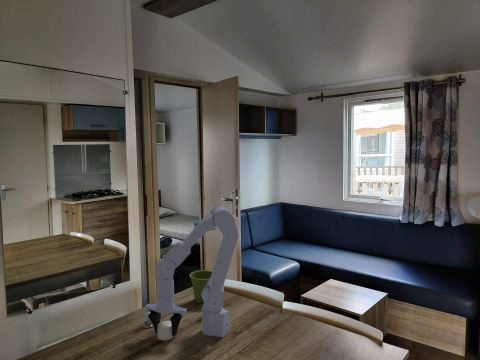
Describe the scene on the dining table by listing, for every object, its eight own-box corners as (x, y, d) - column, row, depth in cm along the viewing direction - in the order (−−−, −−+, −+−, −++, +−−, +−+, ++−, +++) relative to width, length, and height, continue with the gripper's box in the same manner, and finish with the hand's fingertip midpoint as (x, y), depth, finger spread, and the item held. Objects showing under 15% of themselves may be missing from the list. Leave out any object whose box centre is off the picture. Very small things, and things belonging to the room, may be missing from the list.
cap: (177, 333, 128) (177, 322, 128) (168, 341, 123) (168, 329, 122) (163, 330, 130) (163, 319, 130) (154, 338, 125) (154, 326, 124)
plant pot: (206, 308, 151) (206, 281, 150) (184, 302, 157) (183, 276, 156) (223, 298, 161) (222, 272, 160) (201, 293, 167) (200, 268, 166)
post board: (191, 332, 131) (191, 315, 130) (177, 346, 121) (176, 328, 121) (144, 323, 138) (143, 307, 137) (126, 335, 129) (126, 318, 128)
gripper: (190, 292, 127) (190, 331, 128) (152, 288, 131) (153, 325, 132) (181, 300, 120) (181, 341, 121) (141, 295, 124) (142, 335, 125)
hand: (166, 333), depth 126 cm, fingers closed on cap, 6 cm apart
